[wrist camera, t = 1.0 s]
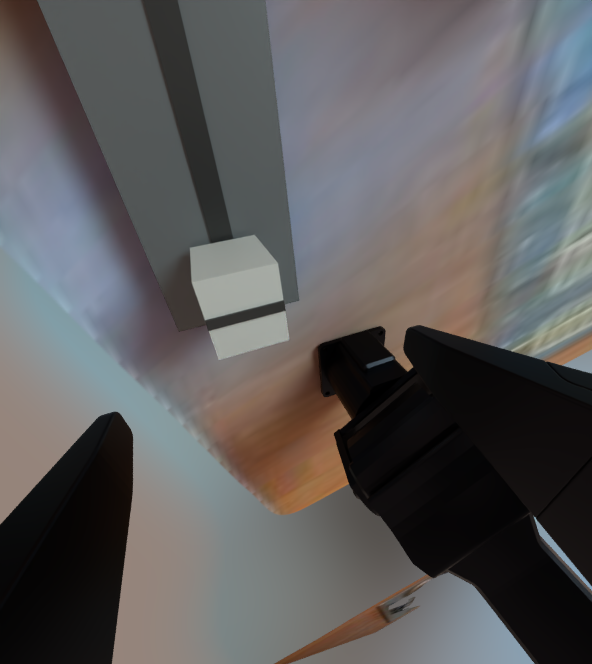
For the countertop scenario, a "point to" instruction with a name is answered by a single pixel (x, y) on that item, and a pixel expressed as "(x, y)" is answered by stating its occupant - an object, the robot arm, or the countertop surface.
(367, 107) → the countertop surface
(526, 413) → the robot arm
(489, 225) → the countertop surface
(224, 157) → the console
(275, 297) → the block
